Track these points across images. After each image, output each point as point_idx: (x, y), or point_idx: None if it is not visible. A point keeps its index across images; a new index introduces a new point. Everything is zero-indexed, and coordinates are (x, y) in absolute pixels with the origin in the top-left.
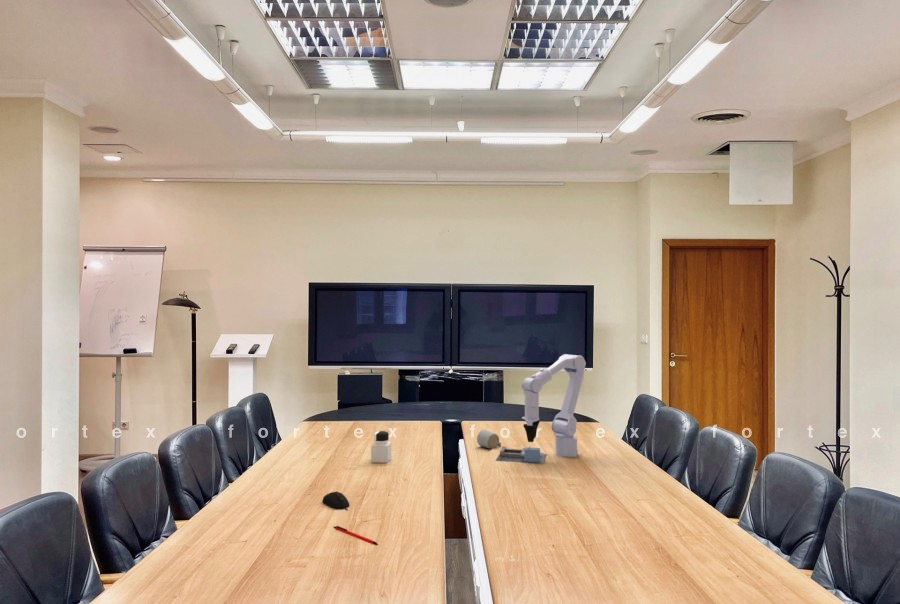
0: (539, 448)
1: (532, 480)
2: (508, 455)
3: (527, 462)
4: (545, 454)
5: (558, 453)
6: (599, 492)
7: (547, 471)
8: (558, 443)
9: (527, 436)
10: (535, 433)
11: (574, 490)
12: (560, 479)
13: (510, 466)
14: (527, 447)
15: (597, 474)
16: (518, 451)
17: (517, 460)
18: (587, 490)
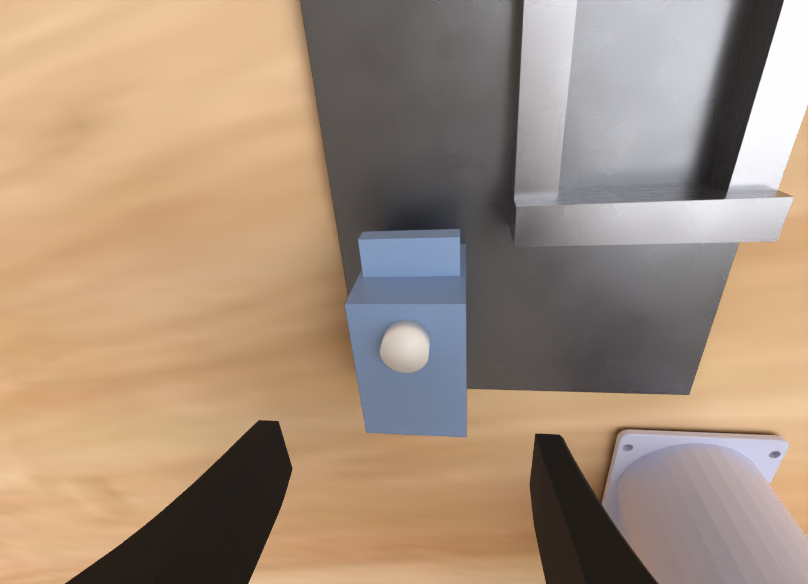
0: (445, 432)
1: (24, 335)
2: (518, 29)
3: (355, 272)
4: (678, 383)
5: (645, 478)
6: (83, 554)
7: (249, 398)
8: (680, 565)
9: (198, 484)
10: (542, 558)
11: (37, 493)
12: (144, 454)
13: (234, 128)
14: (384, 339)
15: (316, 573)
16: (736, 127)
17: (391, 173)
18: (74, 528)
